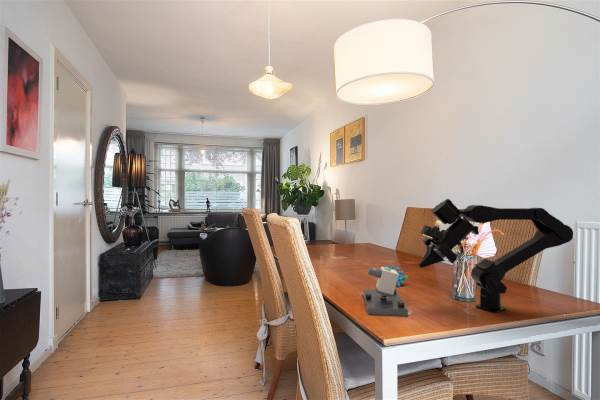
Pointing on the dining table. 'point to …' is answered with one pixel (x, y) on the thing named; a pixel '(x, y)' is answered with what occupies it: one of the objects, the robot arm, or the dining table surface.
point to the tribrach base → (384, 304)
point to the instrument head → (384, 280)
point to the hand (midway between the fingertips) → (419, 266)
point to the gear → (399, 276)
